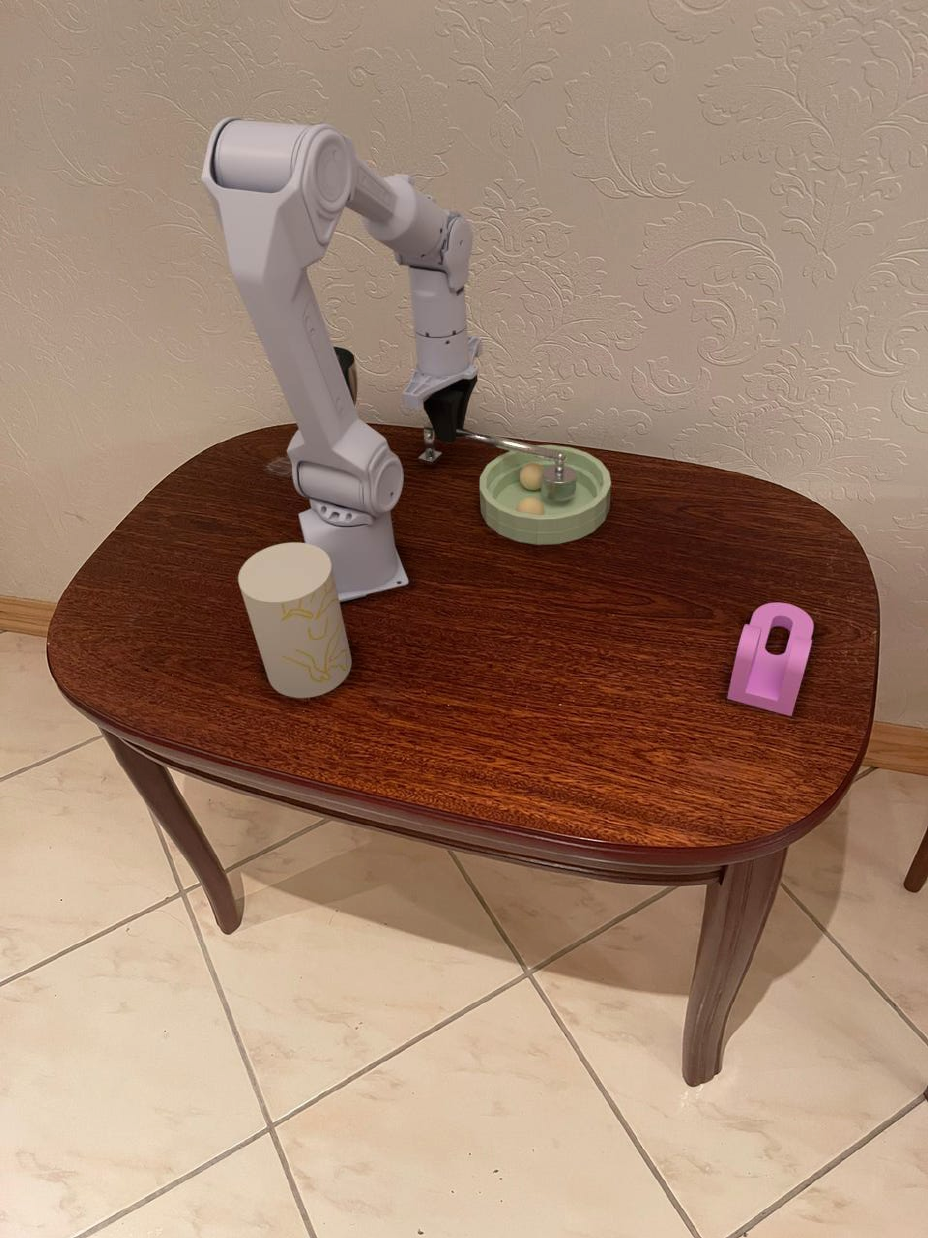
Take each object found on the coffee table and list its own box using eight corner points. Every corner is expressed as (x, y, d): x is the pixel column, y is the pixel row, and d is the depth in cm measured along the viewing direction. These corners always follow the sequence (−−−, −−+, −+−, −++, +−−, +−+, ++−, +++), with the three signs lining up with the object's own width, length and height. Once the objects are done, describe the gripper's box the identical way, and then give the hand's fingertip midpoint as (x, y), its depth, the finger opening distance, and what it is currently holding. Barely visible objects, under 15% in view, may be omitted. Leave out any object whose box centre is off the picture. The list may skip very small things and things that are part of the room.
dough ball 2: (521, 535, 98) (520, 511, 96) (512, 518, 100) (511, 495, 98) (548, 528, 98) (548, 505, 96) (538, 512, 101) (538, 489, 99)
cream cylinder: (310, 710, 81) (283, 614, 73) (250, 675, 85) (218, 580, 77) (368, 658, 86) (350, 562, 78) (309, 626, 90) (285, 531, 82)
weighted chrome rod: (581, 487, 102) (584, 448, 99) (567, 504, 99) (569, 464, 96) (431, 450, 110) (429, 412, 106) (414, 464, 107) (412, 426, 104)
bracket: (791, 716, 77) (807, 660, 73) (726, 698, 79) (738, 643, 75) (814, 621, 86) (830, 565, 81) (756, 607, 88) (768, 552, 83)
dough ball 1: (525, 498, 103) (524, 474, 101) (516, 483, 105) (515, 460, 103) (551, 492, 104) (551, 468, 101) (541, 477, 106) (541, 454, 104)
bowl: (504, 560, 96) (503, 531, 93) (466, 488, 106) (464, 459, 103) (629, 530, 98) (632, 501, 95) (580, 463, 109) (581, 434, 106)
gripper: (438, 362, 89) (448, 475, 98) (504, 304, 98) (507, 413, 107) (380, 350, 92) (395, 461, 101) (448, 295, 101) (456, 402, 110)
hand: (449, 436), depth 105 cm, fingers closed on weighted chrome rod
